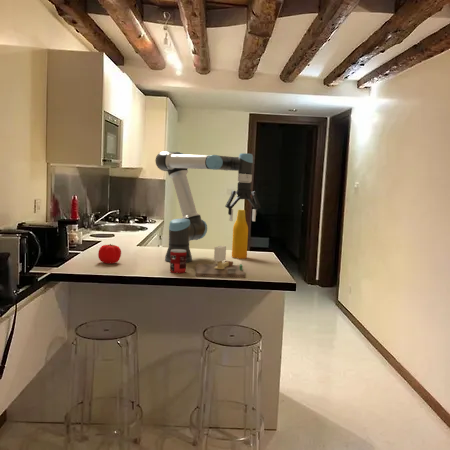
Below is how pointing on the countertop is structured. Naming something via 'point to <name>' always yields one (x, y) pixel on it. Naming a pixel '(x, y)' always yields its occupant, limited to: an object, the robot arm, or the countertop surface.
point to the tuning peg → (220, 257)
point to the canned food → (178, 261)
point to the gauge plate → (220, 270)
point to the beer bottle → (240, 236)
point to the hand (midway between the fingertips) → (242, 221)
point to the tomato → (109, 254)
